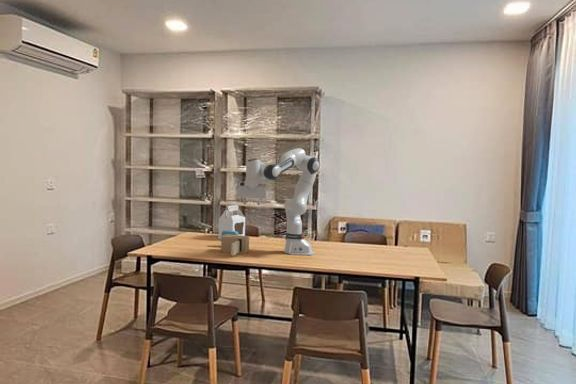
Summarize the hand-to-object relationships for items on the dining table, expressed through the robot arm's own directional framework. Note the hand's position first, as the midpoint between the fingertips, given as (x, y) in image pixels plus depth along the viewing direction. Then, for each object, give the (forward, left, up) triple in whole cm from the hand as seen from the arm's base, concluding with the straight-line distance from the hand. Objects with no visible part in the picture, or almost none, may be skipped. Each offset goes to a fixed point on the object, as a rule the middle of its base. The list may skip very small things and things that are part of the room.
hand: (251, 204), depth 282 cm
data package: (+28, -41, -37) cm, 62 cm away
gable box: (+38, -76, -37) cm, 93 cm away
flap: (+14, -12, -36) cm, 40 cm away
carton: (+19, -26, -37) cm, 49 cm away
